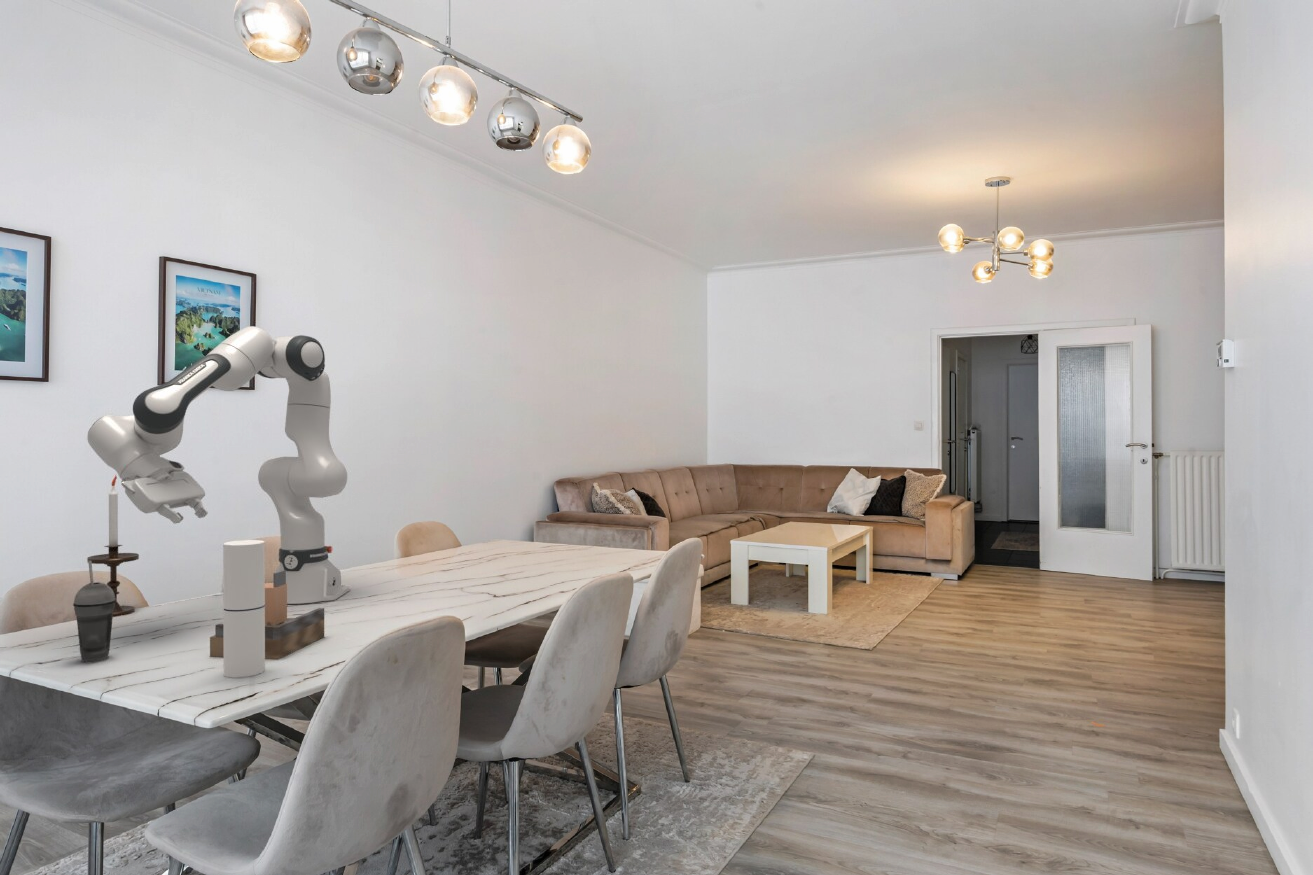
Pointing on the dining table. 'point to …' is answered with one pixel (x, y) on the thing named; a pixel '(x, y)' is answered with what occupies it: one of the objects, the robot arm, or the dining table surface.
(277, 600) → the tan block
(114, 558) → the candlestick
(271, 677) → the dining table surface
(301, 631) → the dock
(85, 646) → the beverage cup
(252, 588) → the cylindrical container
